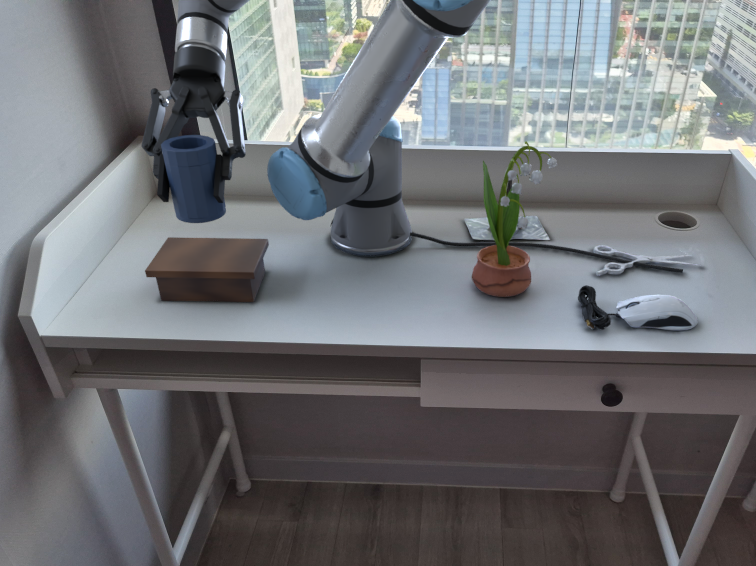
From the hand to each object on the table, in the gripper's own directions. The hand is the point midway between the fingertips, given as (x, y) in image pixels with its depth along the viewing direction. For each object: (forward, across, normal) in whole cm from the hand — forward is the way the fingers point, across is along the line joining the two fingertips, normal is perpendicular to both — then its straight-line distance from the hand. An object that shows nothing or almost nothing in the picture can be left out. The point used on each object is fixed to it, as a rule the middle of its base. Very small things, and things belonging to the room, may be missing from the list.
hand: (190, 198), depth 104 cm
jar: (0, 0, -5) cm, 5 cm away
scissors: (+2, -75, -22) cm, 78 cm away
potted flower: (+9, -49, -15) cm, 52 cm away
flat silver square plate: (-7, -51, -31) cm, 60 cm away
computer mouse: (+15, -69, -8) cm, 71 cm away
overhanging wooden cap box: (+10, 0, -14) cm, 17 cm away
